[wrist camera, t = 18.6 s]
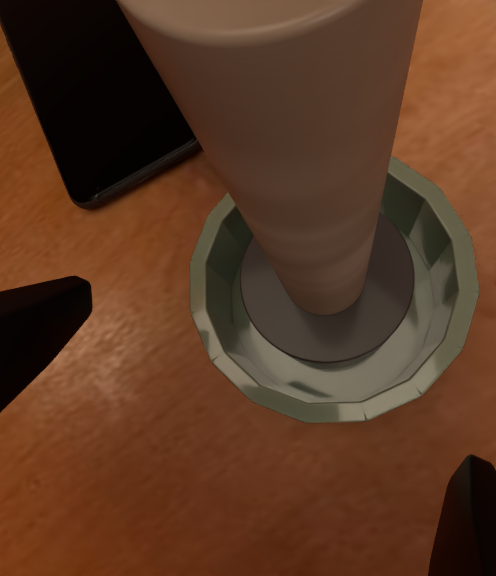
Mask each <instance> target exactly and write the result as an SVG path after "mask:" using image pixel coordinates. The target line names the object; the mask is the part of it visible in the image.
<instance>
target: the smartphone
mask: <svg viewBox="0 0 496 576" xmlns="http://www.w3.org/2000/svg"><path fill="white" fill-rule="evenodd" d="M0 24H1V28H2V30H3V32H4V34H5V37H6V41H7V43H8V46H9V48H10V50H11V52H12V54H13V58H14V61H15V63H16V66H17V68H18V69H19V72H20V74H21V77H22V79H23V82H24V85H25V87H26V90H27V92H28V95H29V97H30V100H31V102H32V105H33V107H34V110H35V112H36V115H37V117H38V120H39V122H40V125H41V127H42V130H43V132H44V135H45V137H46V140H47V142H48V145H49V147H50V150H51V152H52V155H53V157H54V160H55V162H56V165H57V167H58V170H59V172H60V175H61V177H62V180H63V182H64V185H65V187H66V190H67V192H68V195H69V197H70V198H71V200H72V201H73V203H74V204H76V205H77V206H78V207H80V208H84V209H90V208H94V207H97V206H99V205H101V204H103V203H105V202H106V201H108V200H110V199H112V198H114V197H115V196H117V195H119V194H121V193H123V192H124V191H126V190H128V189H130V188H132V187H133V186H135V185H137V184H139V183H141V182H142V181H144V180H146V179H148V178H149V177H151V176H153V175H155V174H157V173H158V172H160V171H162V170H164V169H165V168H167V167H169V166H171V165H173V164H174V163H176V162H178V161H180V160H181V159H183V158H185V157H187V156H188V155H190V154H192V153H193V152H195V151H196V150H197V149H199V148H200V146H201V145H200V143H199V141H198V140H197V138H196V136H195V135H194V133H193V131H192V130H191V128H190V126H189V124H188V123H187V121H186V119H185V118H184V116H183V114H182V112H181V111H180V109H179V107H178V106H177V104H176V102H175V100H174V99H173V97H172V95H171V94H170V92H169V90H168V89H167V87H166V85H165V83H164V82H163V80H162V78H161V77H160V75H159V73H158V71H157V70H156V68H155V66H154V65H153V63H152V61H151V60H150V58H149V56H148V54H147V53H146V51H145V49H144V48H143V46H142V44H141V42H140V41H139V39H138V37H137V36H136V34H135V32H134V30H133V29H132V27H131V25H130V24H129V22H128V20H127V19H126V17H125V15H124V13H123V12H122V10H121V8H120V7H119V5H118V3H117V1H116V0H0Z"/></svg>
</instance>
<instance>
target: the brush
mask: <svg viewBox="0 0 496 576" xmlns="http://www.w3.org/2000/svg"><path fill="white" fill-rule="evenodd" d="M116 1H117V3H118V5H119V7H120V8H121V10H122V12H123V13H124V15H125V17H126V19H127V20H128V22H129V24H130V25H131V27H132V29H133V30H134V32H135V34H136V36H137V37H138V39H139V41H140V42H141V44H142V46H143V48H144V49H145V51H146V53H147V54H148V56H149V58H150V60H151V61H152V63H153V65H154V66H155V68H156V70H157V71H158V73H159V75H160V77H161V78H162V80H163V82H164V83H165V85H166V87H167V89H168V90H169V92H170V94H171V95H172V97H173V99H174V100H175V102H176V104H177V106H178V107H179V109H180V111H181V112H182V114H183V116H184V118H185V119H186V121H187V123H188V124H189V126H190V128H191V130H192V131H193V133H194V135H195V136H196V138H197V140H198V141H199V143H200V145H201V147H202V148H203V150H204V152H205V153H206V155H207V157H208V159H209V160H210V162H211V164H212V165H213V167H214V169H215V171H216V172H217V174H218V176H219V177H220V179H221V181H222V182H223V184H224V186H225V188H226V189H227V191H228V193H229V194H230V196H231V198H232V200H233V201H234V203H235V205H236V206H237V208H238V210H239V211H240V213H241V215H242V217H243V218H244V220H245V222H246V223H247V225H248V227H249V229H250V230H251V232H252V234H253V237H252V238H251V240H250V242H249V244H248V246H247V248H246V250H245V253H244V256H243V259H242V264H241V269H240V291H241V297H242V301H243V304H244V308H245V310H246V313H247V315H248V317H249V319H250V321H251V322H252V324H253V325H254V327H255V328H256V330H257V331H258V332H259V333H260V334H261V336H262V337H263V338H264V339H266V340H267V341H268V342H269V343H270V344H271V345H272V346H274V347H275V348H277V349H278V350H280V351H281V352H283V353H285V354H286V355H288V356H290V357H291V358H293V359H295V360H297V361H299V362H301V363H304V364H307V365H309V366H314V367H318V368H341V367H346V366H350V365H353V364H356V363H358V362H360V361H362V360H364V359H366V358H368V357H369V356H371V355H372V354H374V353H375V352H376V351H377V350H378V349H379V348H380V347H381V346H382V345H383V344H384V343H385V342H386V341H387V340H388V339H389V338H390V337H391V335H392V334H393V333H394V332H395V331H396V330H397V329H398V327H399V326H400V324H401V323H402V321H403V319H404V318H405V316H406V314H407V311H408V309H409V307H410V304H411V300H412V297H413V291H414V281H415V273H414V265H413V260H412V256H411V253H410V250H409V248H408V245H407V243H406V241H405V239H404V238H403V236H402V234H401V233H400V231H399V230H398V229H397V227H396V226H395V225H394V224H393V223H392V222H391V221H390V220H389V219H388V218H387V217H386V216H385V215H384V214H382V213H381V212H379V211H380V206H381V201H382V196H383V191H384V186H385V182H386V177H387V172H388V167H389V162H390V157H391V153H392V148H393V143H394V138H395V133H396V128H397V124H398V119H399V114H400V109H401V104H402V99H403V95H404V90H405V85H406V80H407V75H408V70H409V66H410V61H411V56H412V51H413V46H414V41H415V37H416V32H417V27H418V22H419V17H420V12H421V8H422V3H423V0H116Z"/></svg>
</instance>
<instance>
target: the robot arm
mask: <svg viewBox="0 0 496 576" xmlns="http://www.w3.org/2000/svg"><path fill="white" fill-rule="evenodd" d="M91 312H92V292H91V285H90V283H89V282H88V281H87V280H85V279H82V278H80V277H78V276H69V277H65V278H60V279H56V280H51V281H46V282H42V283H37V284H33V285H28V286H24V287H19V288H14V289H10V290H5V291H1V292H0V412H1V411H2V410H3V409H4V408H5V407H6V406H7V405H8V404H9V403H10V402H11V401H12V400H14V399H15V398H16V397H17V396H18V395H19V394H20V393H21V392H22V391H23V390H24V389H25V388H26V387H27V386H28V385H29V384H30V383H31V382H32V381H33V380H34V379H35V378H36V377H37V376H38V375H39V374H40V373H41V372H42V371H43V370H44V369H45V368H46V367H47V366H48V365H49V364H50V363H51V362H52V361H53V359H54V358H55V357H56V356H57V355H58V354H59V352H60V351H61V350H62V349H63V348H64V346H65V345H66V344H67V343H68V342H69V340H70V339H71V338H72V337H73V336H74V334H75V333H76V332H77V331H78V330H79V328H80V327H81V326H82V325H83V323H84V322H85V321H86V320H87V319H88V317H89V316H90V314H91ZM428 576H496V470H495V468H494V466H493V465H492V464H491V463H490V462H488V461H486V460H483V459H481V458H479V457H477V456H475V455H468V456H467V457H466V458H465V459H464V461H463V462H462V463H461V465H460V466H459V467H458V469H457V470H456V471H455V473H454V474H453V475H452V477H451V479H450V481H449V483H448V486H447V490H446V494H445V498H444V502H443V507H442V511H441V515H440V519H439V524H438V528H437V532H436V536H435V541H434V545H433V549H432V554H431V559H430V565H429V572H428Z"/></svg>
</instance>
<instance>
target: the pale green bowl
mask: <svg viewBox="0 0 496 576" xmlns="http://www.w3.org/2000/svg"><path fill="white" fill-rule="evenodd" d="M379 212H381V213H382V214H384V215H385V216H386V217H387V218H388V219H389V220H390V221H391V222H392V223H393V224H394V225H395V226H396V227H397V229H398V230H399V231H400V233H401V234H402V236H403V238H404V239H405V241H406V243H407V245H408V248H409V250H410V253H411V256H412V260H413V265H414V273H415V281H414V291H413V297H412V300H411V304H410V307H409V309H408V311H407V314H406V316H405V318H404V319H403V321H402V323H401V324H400V326H399V327H398V329H397V330H396V331H395V332H394V333H393V334H392V335H391V337H390V338H389V339H388V340H387V341H386V342H385V343H384V344H383V345H382V346H381V347H380V348H379V349H378V350H377V351H376V352H375V353H374V354H372V355H371V356H369V357H368V358H366V359H364V360H362V361H360V362H358V363H356V364H353V365H350V366H346V367H341V368H318V367H314V366H309V365H307V364H304V363H301V362H299V361H297V360H295V359H293V358H291V357H290V356H288V355H286V354H285V353H283V352H281V351H280V350H278V349H277V348H275V347H274V346H272V345H271V344H270V343H269V342H268V341H267V340H266V339H264V338H263V337H262V336H261V334H260V333H259V332H258V331H257V330H256V328H255V327H254V325H253V324H252V322H251V321H250V319H249V317H248V315H247V313H246V310H245V308H244V304H243V301H242V297H241V291H240V269H241V264H242V259H243V256H244V253H245V250H246V248H247V246H248V244H249V242H250V240H251V238H252V237H253V234H252V232H251V230H250V229H249V227H248V225H247V223H246V222H245V220H244V218H243V217H242V215H241V213H240V211H239V210H238V208H237V206H236V205H235V203H234V201H233V200H232V198H231V196H230V194H229V193H227V194H226V195H225V196H224V197H223V198H222V199H221V201H220V202H219V203H218V204H217V205H216V206H215V207H214V208H213V209H212V211H211V212H210V213H209V215H208V216H207V219H206V221H205V224H204V226H203V229H202V232H201V234H200V237H199V239H198V242H197V244H196V247H195V250H194V252H193V255H192V257H191V260H190V261H191V262H190V313H191V316H192V319H193V321H194V324H195V326H196V328H197V331H198V333H199V335H200V338H201V340H202V343H203V345H204V347H205V350H206V352H207V354H208V357H209V359H210V361H211V362H212V364H213V365H214V366H215V367H216V368H217V369H218V370H219V371H220V372H221V373H222V374H223V375H224V376H225V377H226V378H227V379H228V380H229V381H230V382H231V383H232V384H233V385H234V386H235V387H236V388H237V389H238V390H240V391H241V392H242V393H243V394H244V395H245V396H246V397H247V398H248V399H249V400H251V402H253V403H255V404H258V405H260V406H263V407H266V408H268V409H271V410H273V411H276V412H278V413H281V414H283V415H286V416H288V417H291V418H293V419H296V420H298V421H301V422H304V423H305V422H306V423H335V422H365V421H366V420H367V421H369V420H371V419H373V418H376V417H378V416H380V415H382V414H384V413H386V412H389V411H391V410H393V409H395V408H397V407H399V406H402V405H404V404H406V403H408V402H410V401H412V400H415V399H417V398H419V397H421V396H422V395H423V394H425V393H426V391H427V390H428V389H429V388H430V387H431V386H432V385H433V383H434V382H435V381H436V380H437V379H438V378H439V377H440V375H441V374H442V373H443V372H444V371H445V370H446V369H447V367H448V366H449V365H450V364H451V363H452V362H453V361H454V359H455V358H456V357H457V356H458V355H459V354H460V353H461V351H462V349H463V348H464V344H465V341H466V338H467V334H468V331H469V327H470V324H471V321H472V317H473V314H474V310H475V307H476V303H477V300H478V297H479V293H478V292H479V291H480V290H479V284H478V277H477V271H476V264H475V258H474V251H473V244H472V238H471V236H470V233H469V232H468V230H467V229H466V227H465V226H464V224H463V222H462V221H461V219H460V218H459V216H458V215H457V213H456V212H455V210H454V209H453V207H452V205H451V204H450V202H449V201H448V199H447V198H446V196H445V195H444V193H443V192H442V190H441V189H439V187H438V186H437V185H435V184H434V183H433V182H431V181H430V180H428V179H427V178H425V177H424V176H422V175H421V174H419V173H418V172H416V171H415V170H413V169H412V168H410V167H409V166H407V165H406V164H405V163H403V162H402V161H400V160H399V159H397V158H396V157H393V156H391V157H390V162H389V167H388V172H387V177H386V182H385V186H384V191H383V196H382V201H381V206H380V211H379Z"/></svg>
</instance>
